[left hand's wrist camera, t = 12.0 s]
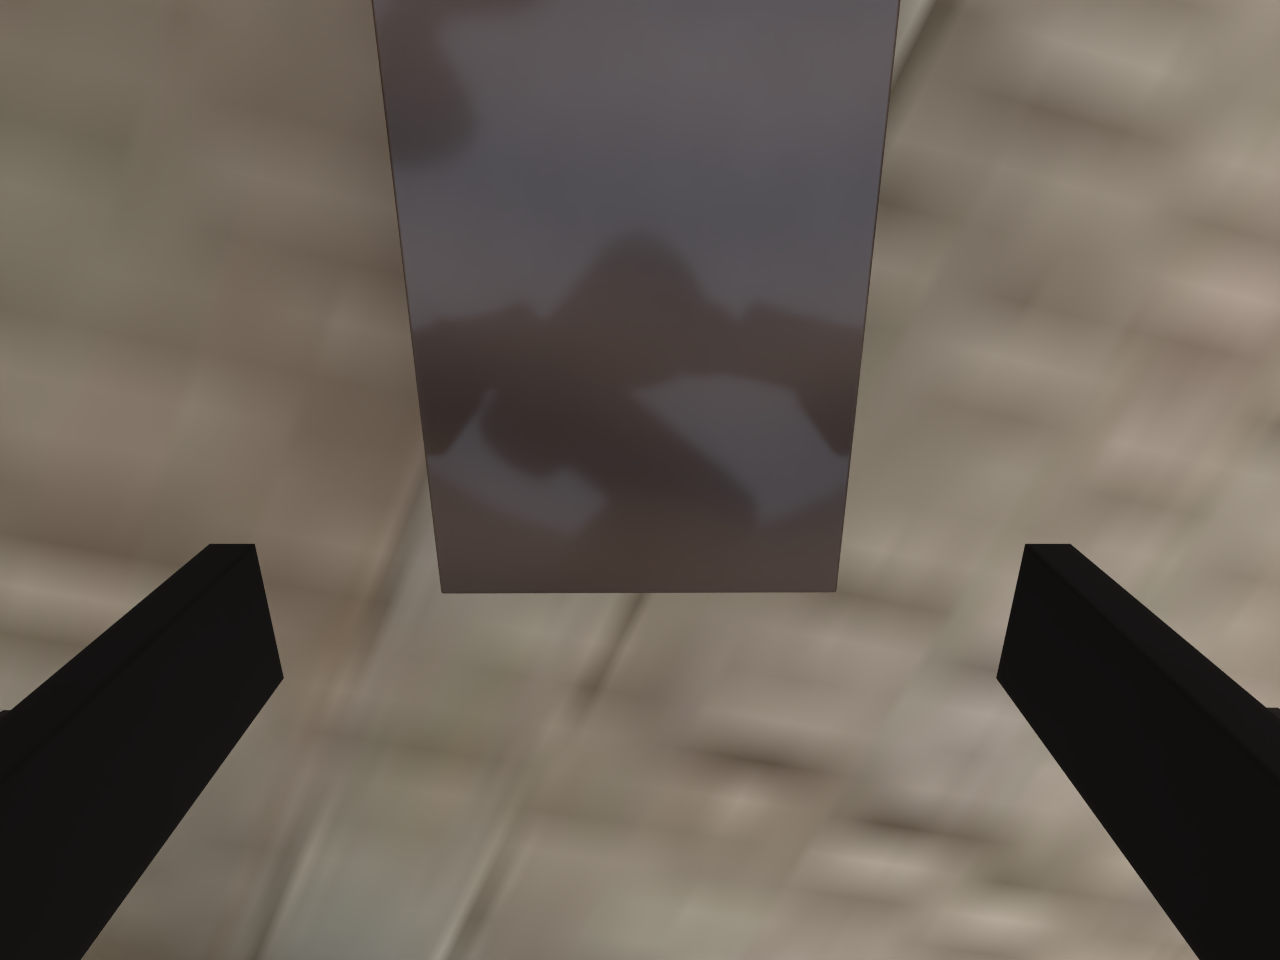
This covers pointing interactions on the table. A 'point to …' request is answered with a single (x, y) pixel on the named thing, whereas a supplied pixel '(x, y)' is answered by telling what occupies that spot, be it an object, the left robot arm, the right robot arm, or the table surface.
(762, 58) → the small wooden cabinet
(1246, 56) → the table surface
